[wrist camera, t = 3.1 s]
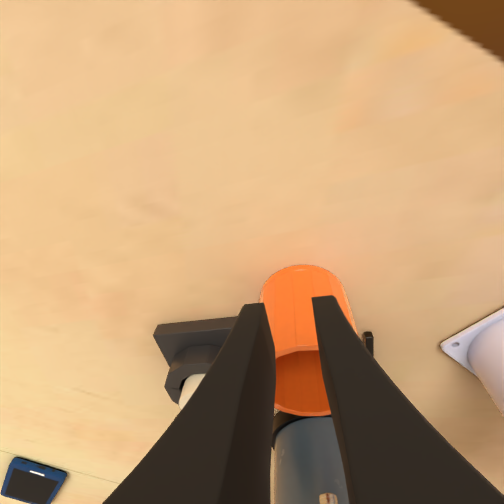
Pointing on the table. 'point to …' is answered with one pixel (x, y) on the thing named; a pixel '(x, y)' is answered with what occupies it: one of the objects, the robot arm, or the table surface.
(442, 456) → the robot arm
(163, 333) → the button block
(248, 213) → the table surface
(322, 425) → the dispenser
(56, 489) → the cell phone
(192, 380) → the button
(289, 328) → the cup
